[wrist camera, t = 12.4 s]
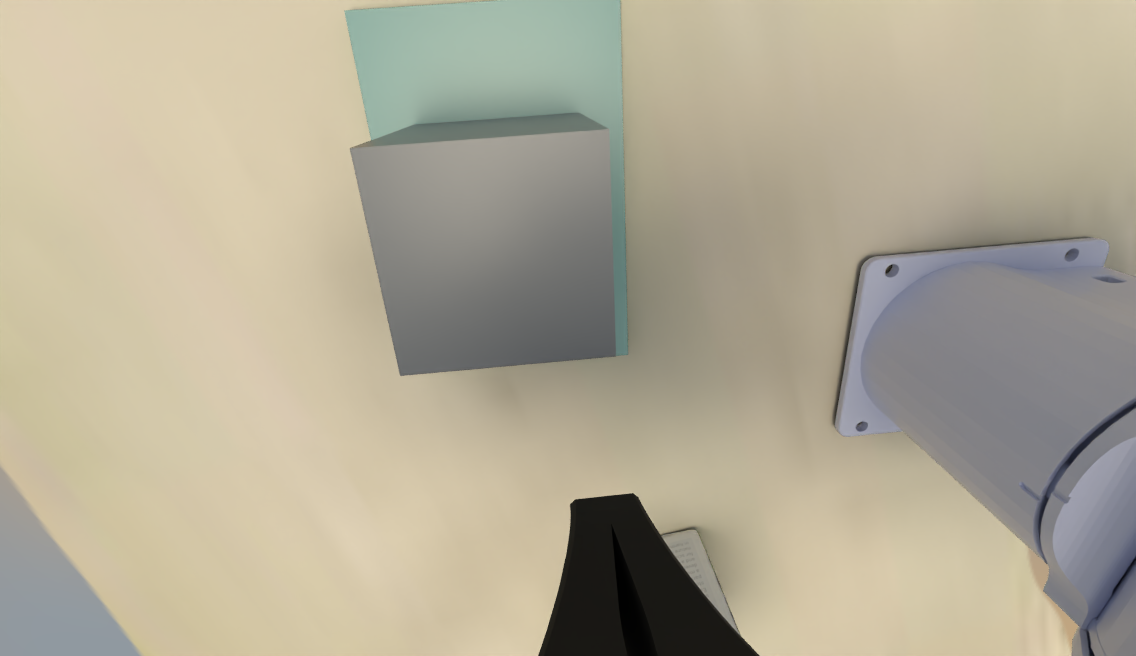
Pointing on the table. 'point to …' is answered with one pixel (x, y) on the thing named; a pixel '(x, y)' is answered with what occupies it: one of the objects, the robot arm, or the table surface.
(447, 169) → the dark grey block
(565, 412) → the table surface
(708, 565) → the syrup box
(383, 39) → the teal base stand
